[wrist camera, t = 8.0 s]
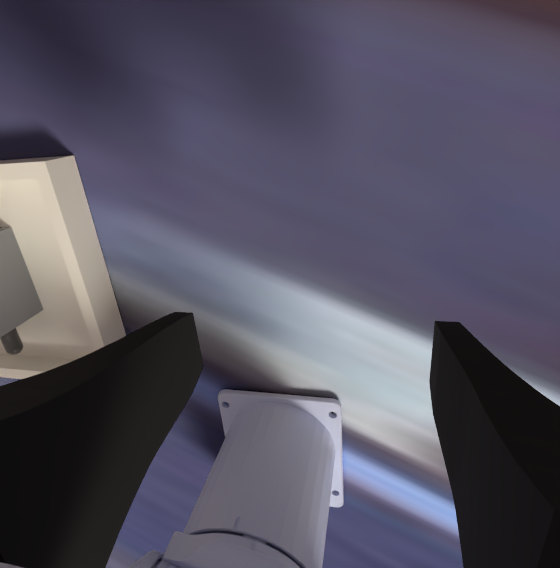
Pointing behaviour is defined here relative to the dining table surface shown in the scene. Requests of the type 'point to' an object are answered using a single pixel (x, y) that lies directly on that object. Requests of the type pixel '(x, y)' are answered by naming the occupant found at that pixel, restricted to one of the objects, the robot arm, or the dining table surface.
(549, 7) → the dining table surface
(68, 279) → the tray
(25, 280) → the plug
